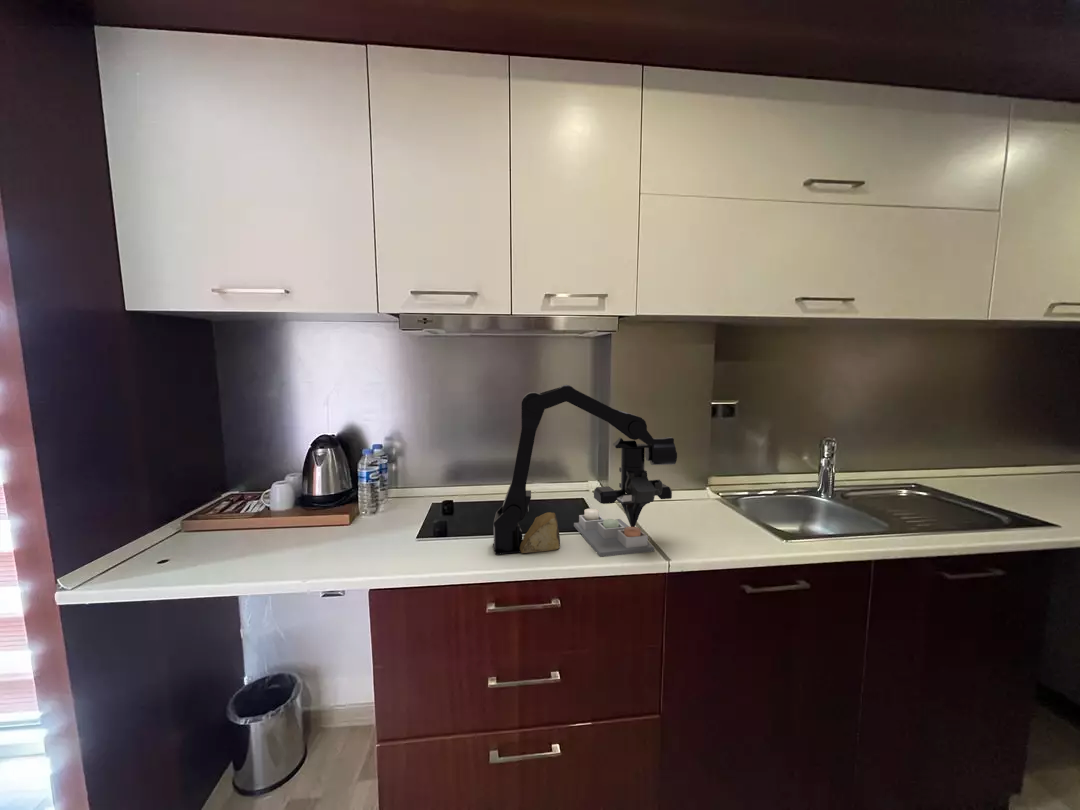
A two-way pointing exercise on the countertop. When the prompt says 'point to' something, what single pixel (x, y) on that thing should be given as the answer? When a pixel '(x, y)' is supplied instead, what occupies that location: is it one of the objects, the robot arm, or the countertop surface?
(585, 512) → the cream button
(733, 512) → the countertop surface
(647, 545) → the panel
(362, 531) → the countertop surface
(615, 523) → the sage button
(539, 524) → the rock
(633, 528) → the terracotta button
